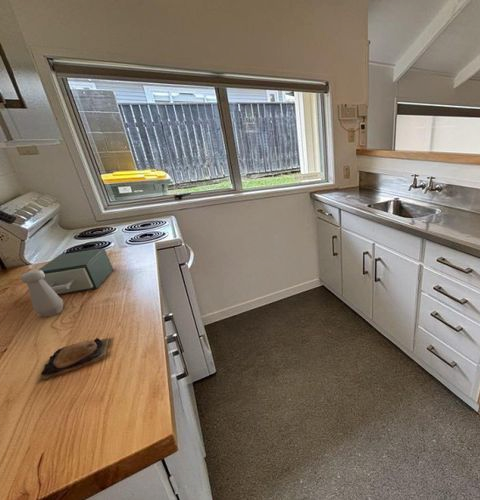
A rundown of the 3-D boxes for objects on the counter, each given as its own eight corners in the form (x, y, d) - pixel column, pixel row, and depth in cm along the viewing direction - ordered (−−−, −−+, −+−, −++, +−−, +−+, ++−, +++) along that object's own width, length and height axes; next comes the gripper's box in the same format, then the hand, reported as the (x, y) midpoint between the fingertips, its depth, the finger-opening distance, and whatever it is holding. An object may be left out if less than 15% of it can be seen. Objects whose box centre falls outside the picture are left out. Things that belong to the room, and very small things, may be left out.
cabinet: (96, 288, 92) (85, 264, 89) (47, 297, 88) (33, 272, 85) (113, 269, 105) (104, 248, 102) (71, 276, 101) (60, 254, 98)
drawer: (83, 296, 86) (74, 277, 83) (34, 306, 82) (23, 285, 80) (108, 270, 103) (100, 253, 100) (68, 276, 99) (59, 259, 96)
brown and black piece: (110, 339, 69) (104, 326, 67) (105, 360, 62) (98, 347, 61) (51, 357, 64) (44, 344, 62) (39, 382, 57) (30, 368, 56)
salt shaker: (33, 316, 79) (9, 275, 74) (58, 305, 84) (37, 266, 79) (46, 320, 77) (22, 278, 72) (71, 308, 82) (50, 268, 77)
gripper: (-58, 169, 65) (28, 209, 79) (-92, 175, 69) (-3, 212, 83) (-83, 195, 62) (12, 232, 76) (-117, 200, 66) (-20, 234, 80)
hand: (4, 222), depth 79 cm, fingers open, 8 cm apart
